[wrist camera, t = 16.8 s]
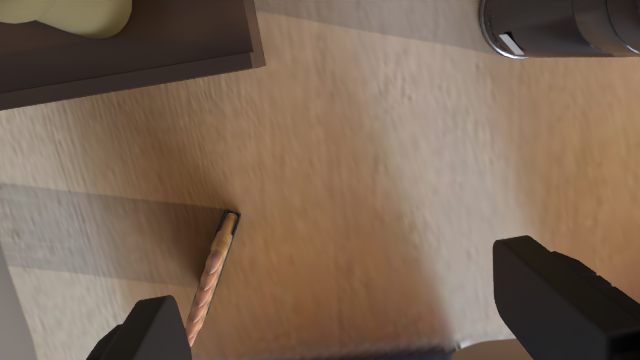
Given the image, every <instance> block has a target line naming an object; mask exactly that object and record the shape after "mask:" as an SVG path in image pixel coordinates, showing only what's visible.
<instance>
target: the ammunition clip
mask: <svg viewBox="0 0 640 360" xmlns="http://www.w3.org/2000/svg"><path fill="white" fill-rule="evenodd" d="M240 217H241V214H239V213H236V212H233V211H229V210H225V213H224V215H223V217H222V219H221V221H220V224H219V226H218V228H217V230H216V234H215V237H214V240H213V243H212V246H211V249H210V252H209V255H208V258H207V261H206V264H205V267H204V270H203V273H202V276H201V279H200V282H199V285H198V288H197V291H196V294H195V297H194V300H193V304H192V307H191V311H190V314H189V316H188V319H187V322H186V328H185V331H186V334H187V338H188V341H189V344H190V347H191V345H192V344H193V342H194V340H195V337H196V335H197V333H198V331H199V329H200V328H201V326H202V324H203V321H204V319H205V316H206V315H207V313H208V310H209V308H210V305H211V302H212V299H213V296H214V293H215V290H216V287H217V284H218V281H219V279H220V276H221V273H222V270H223V267H224V264H225V261H226V258H227V255H228V252H229V249H230V246H231V244H232V241H233V238H234V235H235V232H236V229H237V226H238V223H239V220H240Z"/></svg>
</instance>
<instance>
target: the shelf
mask: <svg viewBox="0 0 640 360" xmlns="http://www.w3.org/2000/svg"><path fill="white" fill-rule="evenodd" d="M263 66H266V63H265V58H264V52H263V47H262V42H261V37H260V31H259V26H258V21H257V16H256V10H255V5H254V0H132V11H131V14H130V16H129V19H128V22H127V23H126V25H125V26H124V27H123V28H122V29H121V31H120V32H118V33H117V34H115V35H113V36H111V37H109V38H105V39H98V40H94V39H88V38H83V37H80V36H77V35H75V34H72V33H69V32H67V31H64V30H61V29H58V28H56V27H53V26H50V25H48V24H45V23H42V22H39V21H37V20H33V21H29V22H23V23H16V24H13V23H5V22H0V111H2V110H8V109H14V108H20V107H26V106H32V105H38V104H44V103H50V102H56V101H62V100H68V99H74V98H80V97H86V96H92V95H98V94H104V93H110V92H116V91H122V90H128V89H134V88H141V87H147V86H153V85H159V84H165V83H171V82H177V81H183V80H189V79H195V78H201V77H207V76H213V75H219V74H225V73H231V72H237V71H243V70H249V69H254V68H258V67H263Z"/></svg>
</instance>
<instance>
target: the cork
mask: <svg viewBox="0 0 640 360" xmlns="http://www.w3.org/2000/svg"><path fill="white" fill-rule="evenodd" d="M131 11H132V0H0V22H5V23H13V24H16V23H23V22H29V21H33V20H37V21H39V22H42V23H45V24H48V25H50V26H53V27H56V28H58V29H61V30H64V31H67V32H69V33H72V34H75V35H77V36H80V37H83V38H88V39H94V40H98V39H105V38H109V37H111V36H113V35H115V34H117V33H118V32H120V31H121V29H122V28H123V27H124V26H125V25H126V23H127V22H128V19H129V16H130V14H131Z"/></svg>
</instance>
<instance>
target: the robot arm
mask: <svg viewBox="0 0 640 360" xmlns="http://www.w3.org/2000/svg"><path fill="white" fill-rule="evenodd" d="M479 21H480V27H481V31H482V34H483V36H484V38H485V40H486V42H487V43H488V44H489V46H490V47H491V48H492V49H493V50H494V51H496V52H497V53H499V54H501V55H503V56H505V57H509V58H530V57H536V58H551V57H640V0H481V4H480V11H479ZM493 281H494V299H495V304H496V307H497V310H498V312H499V315H500V317H501V318H502V320H503V321H504V323H505V324H506V325H507V327H508V328H509V329H510V330H511V332H512V333H513V334H514V335H515V337H516V338H517V339H518V340H519V342H520V343H521V344H522V346H523V347H524V348H525V349H526V351H527V352H528V353H529V354H530V356H531V357H532V358H533V359H534V360H640V304H639V303H637V302H636V301H635V300H633V299H632V298H630V297H629V296H628V295H626V294H625V293H623V292H622V291H621V290H619V289H618V288H616V287H612V286H611V283H609V282H608V281H607V280H605V279H604V278H602V277H601V276H600V275H599V276H597V275H596V273H595V272H594V271H593V270H591V269H590V268H588V267H587V266H586V265H584V264H583V263H581V262H580V261H579V260H576V259H574V258H571V257H569V256H566V255H564V254H561V253H558V252H556V251H553V252H550V251H549V250H547V249H546V248H545V247H544V246H542V245H541V244H540V243H538V242H537V241H536V240H534V239H533V238H532V237H530V236H528V235H525V236H519V237H513V238H507V239H501V240H496V241H495V242H494V244H493ZM86 360H192V355H191V348H190V344H189V341H188V338H187V334H186V331H185V328H184V325H183V322H182V318H181V315H180V312H179V309H178V306H177V303H176V300H175V299H174V297H173V296H171V295H167V296H162V297H156V298H150V299H144V300H139V301H138V302H137V303H136V304H135V306H134V307H133V309H132V310H131V312H130V313H129V315H128V317H127V318H126V320H125V321H124V323H123V324H120V325H117V326H116V327H115V328H114V329H112V330H111V331H110V332H109V333H108V334H107V335H105V336H104V337H103V338H102V339H101V340H100V341H98V343H97V344H96V346H95V347H94V349H93V350H92V351H91V353H90V354H89V356H88V357H87V359H86Z"/></svg>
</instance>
